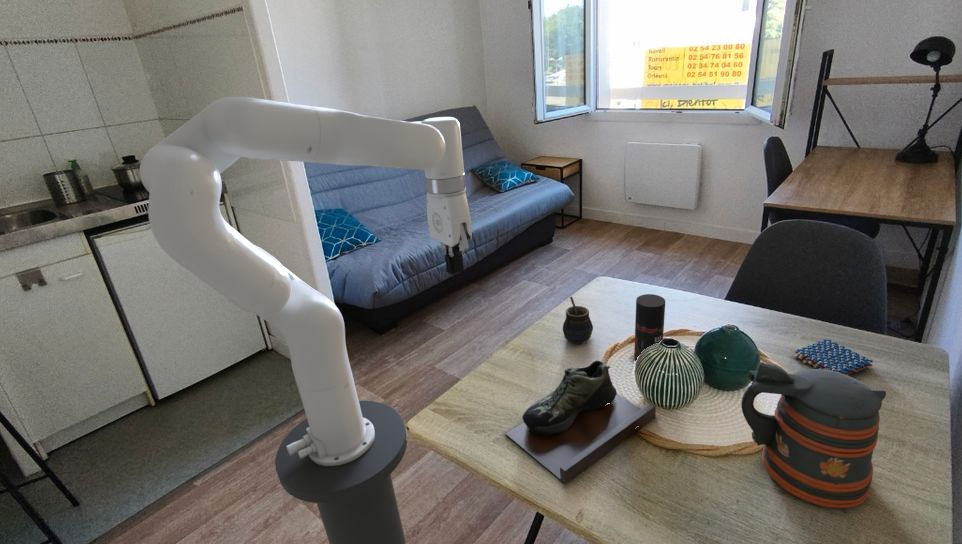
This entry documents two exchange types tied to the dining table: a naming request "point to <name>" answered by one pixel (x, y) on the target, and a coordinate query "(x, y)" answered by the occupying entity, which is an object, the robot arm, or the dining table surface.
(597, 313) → the dining table surface
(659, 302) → the deodorant
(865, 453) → the beer stein
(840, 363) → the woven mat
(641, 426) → the shoe shelf
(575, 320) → the mate gourd
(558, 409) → the hiking shoe
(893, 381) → the dining table surface
